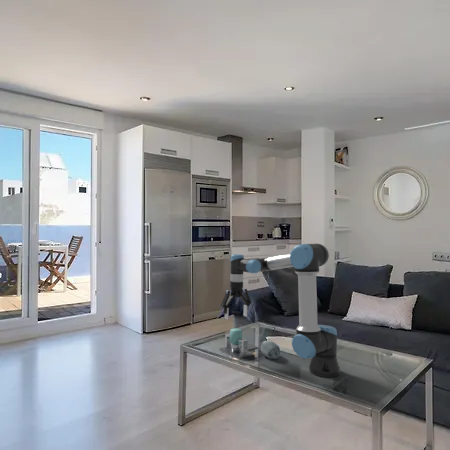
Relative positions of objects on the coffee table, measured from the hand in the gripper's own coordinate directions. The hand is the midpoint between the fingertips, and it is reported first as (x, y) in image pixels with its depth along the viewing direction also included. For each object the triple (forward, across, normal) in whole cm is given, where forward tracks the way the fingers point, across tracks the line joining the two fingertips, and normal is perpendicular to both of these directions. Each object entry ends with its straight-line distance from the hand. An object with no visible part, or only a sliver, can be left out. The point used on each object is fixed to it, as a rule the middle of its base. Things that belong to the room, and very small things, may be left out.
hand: (236, 317), depth 219 cm
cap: (+14, 0, 0) cm, 14 cm away
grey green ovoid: (+20, -12, +16) cm, 29 cm away
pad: (+20, -12, -3) cm, 23 cm away
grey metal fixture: (+20, 0, 0) cm, 20 cm away
